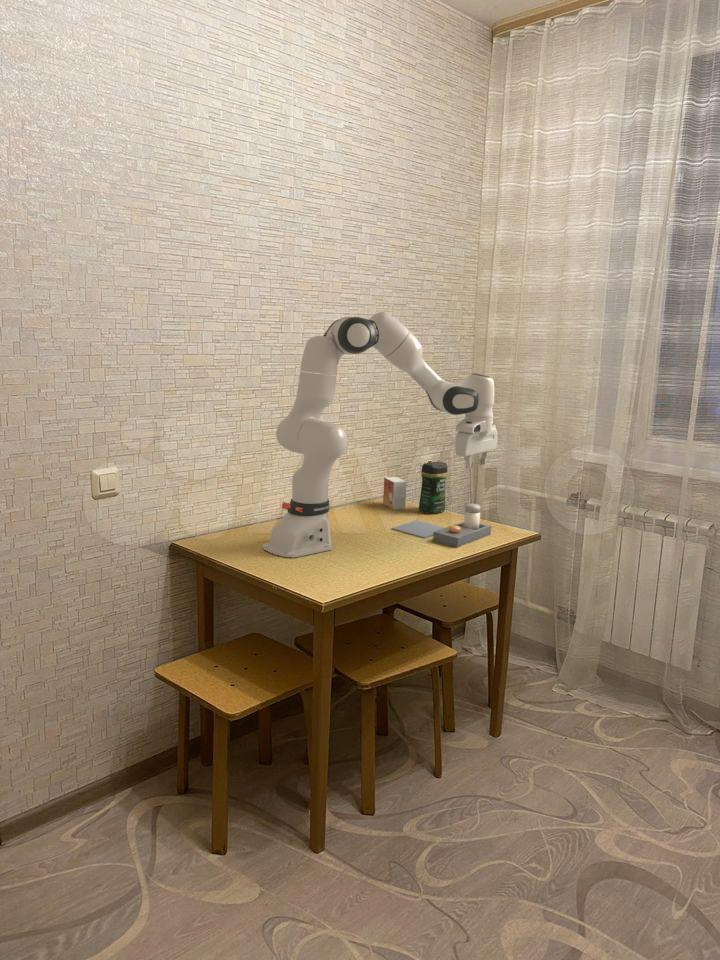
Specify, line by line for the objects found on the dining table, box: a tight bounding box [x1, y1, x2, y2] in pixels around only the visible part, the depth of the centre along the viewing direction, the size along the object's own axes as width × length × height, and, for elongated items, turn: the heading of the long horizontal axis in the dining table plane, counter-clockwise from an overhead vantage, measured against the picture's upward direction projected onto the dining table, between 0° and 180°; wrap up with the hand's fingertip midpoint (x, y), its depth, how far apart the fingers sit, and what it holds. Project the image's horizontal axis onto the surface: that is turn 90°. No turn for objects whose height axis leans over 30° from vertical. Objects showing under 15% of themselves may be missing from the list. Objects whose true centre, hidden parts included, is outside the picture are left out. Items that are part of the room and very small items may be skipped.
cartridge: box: [463, 503, 482, 530], centre depth 246 cm, size 5×5×10 cm
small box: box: [382, 476, 408, 510], centre depth 278 cm, size 8×6×10 cm
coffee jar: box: [418, 460, 449, 515], centre depth 272 cm, size 10×8×19 cm
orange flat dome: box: [448, 524, 461, 533], centre depth 239 cm, size 4×4×1 cm
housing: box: [432, 521, 492, 548], centre depth 243 cm, size 20×9×3 cm, turn 139°
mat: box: [390, 519, 446, 539], centre depth 250 cm, size 14×14×1 cm
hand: (475, 466), depth 242 cm, fingers open, 7 cm apart
